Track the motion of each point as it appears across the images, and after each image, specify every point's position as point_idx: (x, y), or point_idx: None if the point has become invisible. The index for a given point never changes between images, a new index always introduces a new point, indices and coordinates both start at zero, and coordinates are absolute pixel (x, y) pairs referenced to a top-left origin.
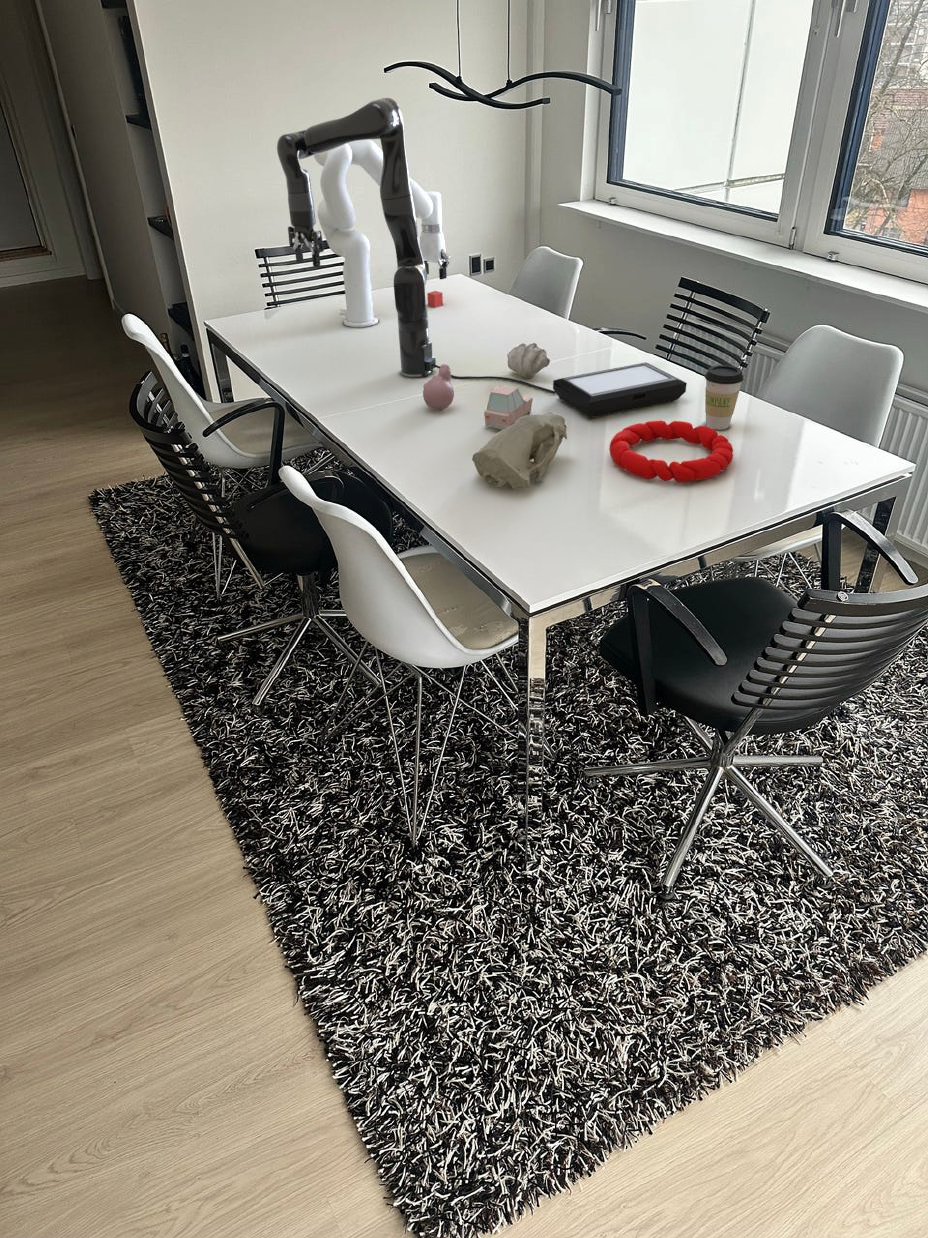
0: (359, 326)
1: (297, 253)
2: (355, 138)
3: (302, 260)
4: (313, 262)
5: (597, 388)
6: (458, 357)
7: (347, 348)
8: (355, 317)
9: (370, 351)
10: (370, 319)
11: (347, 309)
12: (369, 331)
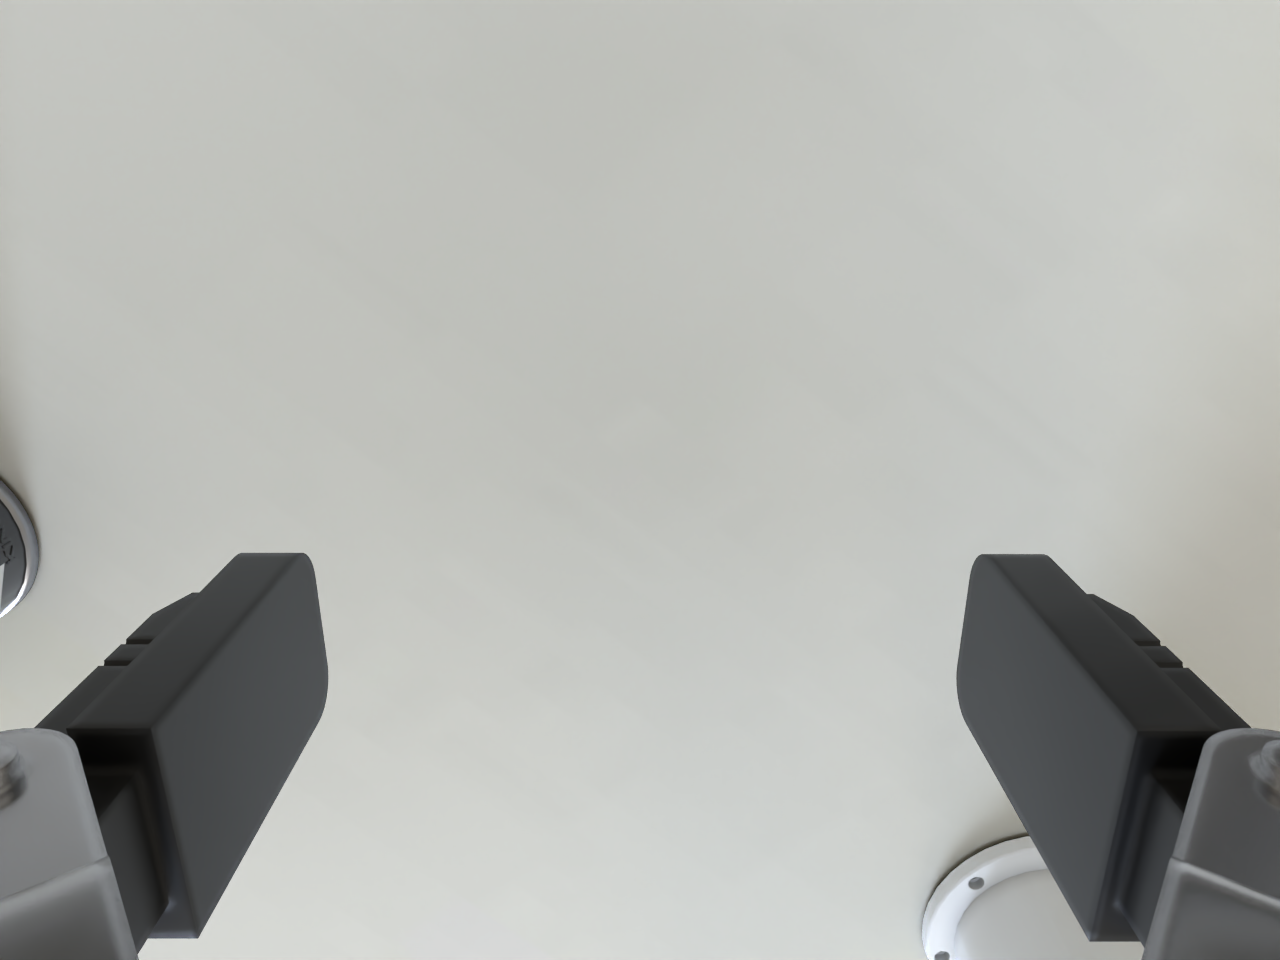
0: (964, 862)
1: (1073, 689)
2: None
3: (968, 691)
4: (229, 590)
5: None
6: None
7: (694, 564)
8: (1022, 905)
9: (521, 618)
10: (957, 954)
11: None
12: (849, 847)
